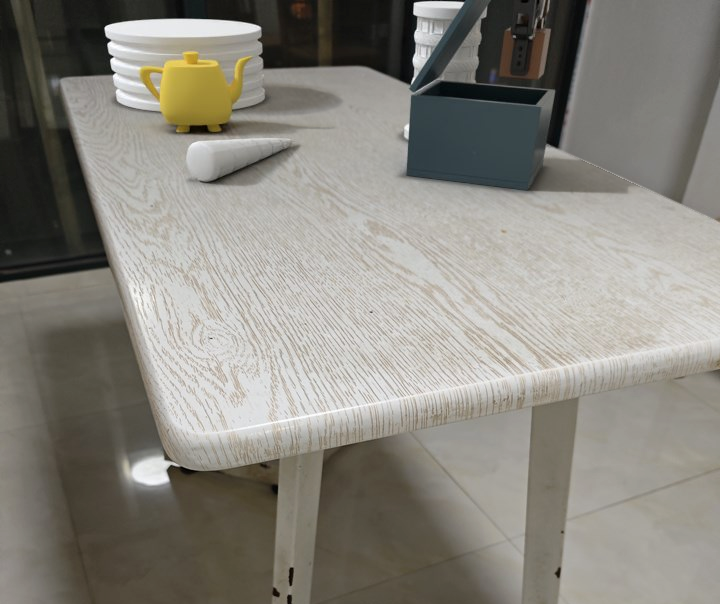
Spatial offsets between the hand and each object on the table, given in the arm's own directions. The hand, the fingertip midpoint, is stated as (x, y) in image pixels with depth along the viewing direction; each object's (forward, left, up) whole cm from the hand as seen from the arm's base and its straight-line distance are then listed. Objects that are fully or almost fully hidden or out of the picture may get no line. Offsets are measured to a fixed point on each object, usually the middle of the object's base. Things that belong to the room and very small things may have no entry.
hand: (522, 71), depth 91 cm
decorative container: (+4, -22, -13) cm, 26 cm away
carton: (0, 0, 0) cm, 0 cm away
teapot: (+42, -32, -13) cm, 54 cm away
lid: (+7, -4, +5) cm, 9 cm away
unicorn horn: (+36, -9, -13) cm, 39 cm away
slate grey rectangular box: (+4, -2, -13) cm, 13 cm away
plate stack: (+44, -57, -13) cm, 73 cm away
